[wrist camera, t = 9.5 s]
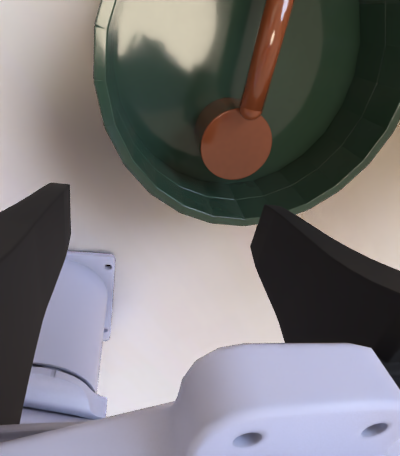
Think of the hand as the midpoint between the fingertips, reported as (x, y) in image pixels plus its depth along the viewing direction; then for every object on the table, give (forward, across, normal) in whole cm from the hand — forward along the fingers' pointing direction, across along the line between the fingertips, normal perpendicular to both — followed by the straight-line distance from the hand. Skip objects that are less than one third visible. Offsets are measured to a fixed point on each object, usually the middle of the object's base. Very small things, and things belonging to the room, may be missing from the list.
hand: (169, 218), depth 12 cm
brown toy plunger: (+9, -4, -5) cm, 11 cm away
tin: (+9, -4, -4) cm, 11 cm away
